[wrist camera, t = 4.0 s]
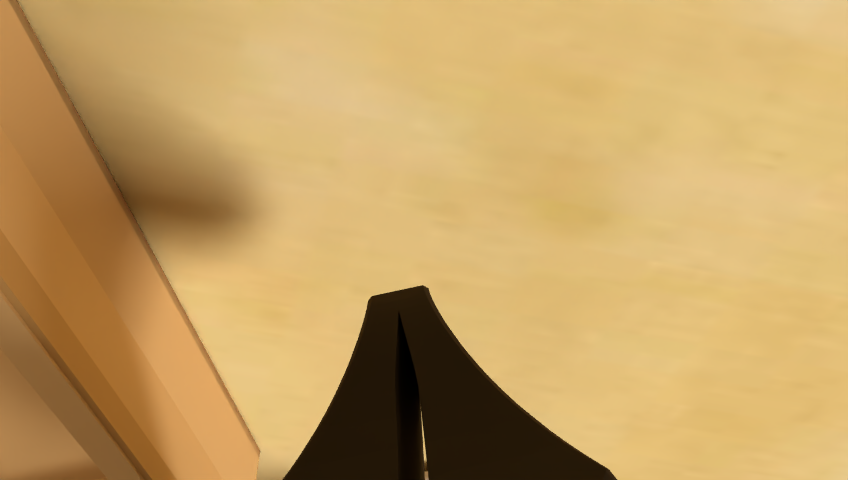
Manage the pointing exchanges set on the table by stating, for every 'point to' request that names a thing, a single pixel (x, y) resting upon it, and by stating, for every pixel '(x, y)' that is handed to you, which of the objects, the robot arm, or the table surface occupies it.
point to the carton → (99, 279)
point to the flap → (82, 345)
